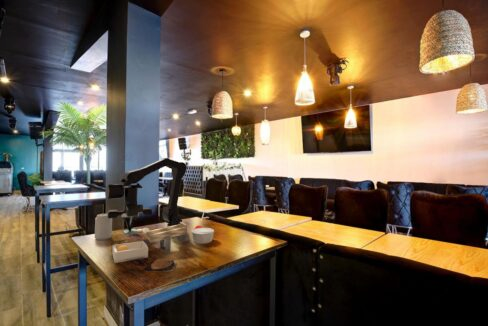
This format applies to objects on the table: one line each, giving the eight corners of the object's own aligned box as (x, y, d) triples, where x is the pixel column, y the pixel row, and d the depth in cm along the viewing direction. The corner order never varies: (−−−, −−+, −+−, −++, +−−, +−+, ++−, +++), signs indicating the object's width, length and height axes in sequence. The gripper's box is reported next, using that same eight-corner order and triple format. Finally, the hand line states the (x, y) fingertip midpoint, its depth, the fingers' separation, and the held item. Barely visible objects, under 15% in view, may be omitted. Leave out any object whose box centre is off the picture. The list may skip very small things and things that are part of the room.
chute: (173, 227, 127) (172, 215, 127) (189, 240, 107) (188, 226, 107) (124, 239, 115) (123, 225, 114) (132, 255, 94) (130, 239, 94)
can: (103, 241, 117) (104, 216, 117) (90, 239, 119) (91, 215, 119) (115, 236, 124) (115, 213, 125) (102, 235, 126) (103, 212, 126)
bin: (143, 249, 107) (143, 240, 107) (147, 257, 98) (148, 247, 98) (112, 254, 100) (112, 245, 100) (114, 263, 92) (115, 252, 92)
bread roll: (178, 264, 94) (178, 254, 94) (172, 274, 85) (172, 263, 85) (150, 263, 93) (150, 254, 93) (141, 273, 85) (141, 262, 85)
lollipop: (210, 233, 135) (210, 211, 135) (192, 234, 131) (193, 212, 131) (207, 230, 140) (208, 209, 140) (191, 231, 137) (191, 210, 137)
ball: (124, 254, 100) (128, 245, 101) (125, 258, 96) (130, 248, 97) (114, 252, 98) (119, 242, 99) (115, 255, 94) (120, 245, 95)
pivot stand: (163, 246, 112) (163, 231, 112) (170, 253, 103) (170, 237, 103) (159, 246, 111) (159, 231, 111) (165, 254, 102) (166, 237, 102)
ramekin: (195, 245, 113) (195, 234, 114) (188, 239, 123) (189, 228, 123) (217, 242, 119) (217, 232, 119) (209, 236, 129) (209, 226, 129)
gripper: (109, 201, 102) (108, 238, 102) (155, 199, 112) (154, 232, 112) (107, 197, 111) (106, 231, 111) (150, 196, 121) (149, 227, 121)
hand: (129, 230), depth 114 cm, fingers closed, pressing on chute
